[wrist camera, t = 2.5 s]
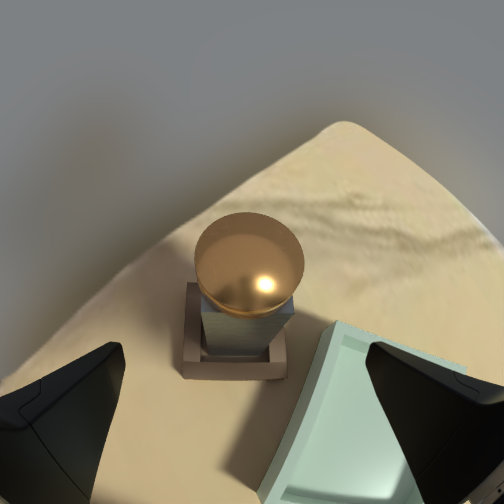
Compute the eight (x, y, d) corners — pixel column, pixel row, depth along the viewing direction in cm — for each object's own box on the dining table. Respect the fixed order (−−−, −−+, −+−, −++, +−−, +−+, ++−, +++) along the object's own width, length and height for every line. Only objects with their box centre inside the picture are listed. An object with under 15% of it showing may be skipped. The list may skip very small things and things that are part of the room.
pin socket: (283, 379, 18) (287, 377, 17) (184, 378, 18) (182, 377, 17) (278, 290, 22) (281, 284, 21) (188, 288, 21) (187, 282, 20)
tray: (403, 509, 12) (423, 516, 10) (256, 492, 14) (262, 506, 11) (445, 373, 19) (466, 366, 16) (322, 331, 21) (336, 320, 18)
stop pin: (263, 359, 19) (310, 308, 9) (206, 358, 18) (190, 307, 9) (260, 307, 21) (297, 215, 11) (207, 306, 20) (198, 210, 11)
